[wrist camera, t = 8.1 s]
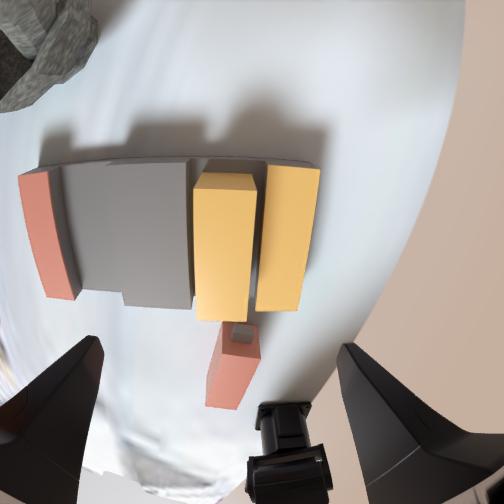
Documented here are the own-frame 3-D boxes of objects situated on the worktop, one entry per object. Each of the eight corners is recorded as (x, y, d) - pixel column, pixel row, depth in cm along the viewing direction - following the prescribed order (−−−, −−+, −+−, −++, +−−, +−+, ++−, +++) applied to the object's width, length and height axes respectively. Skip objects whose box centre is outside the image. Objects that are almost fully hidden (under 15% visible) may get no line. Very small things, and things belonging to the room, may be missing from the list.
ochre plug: (202, 172, 16) (193, 188, 13) (251, 174, 17) (257, 191, 13) (202, 294, 21) (197, 331, 17) (243, 296, 21) (245, 333, 17)
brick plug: (235, 378, 27) (236, 409, 24) (206, 374, 27) (205, 406, 23) (260, 316, 23) (264, 350, 20) (225, 310, 23) (224, 344, 19)
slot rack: (290, 290, 22) (297, 311, 20) (60, 280, 20) (46, 297, 18) (309, 162, 17) (320, 169, 15) (37, 167, 16) (17, 176, 13)
